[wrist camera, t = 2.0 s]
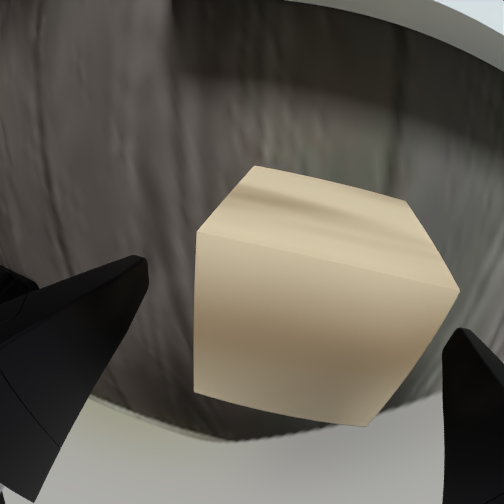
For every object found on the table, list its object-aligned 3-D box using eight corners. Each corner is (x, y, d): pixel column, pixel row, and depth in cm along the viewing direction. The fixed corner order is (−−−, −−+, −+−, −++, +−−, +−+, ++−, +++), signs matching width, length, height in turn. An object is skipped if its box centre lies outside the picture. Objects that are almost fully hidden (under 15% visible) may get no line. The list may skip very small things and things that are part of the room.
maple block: (360, 317, 12) (365, 427, 7) (237, 290, 12) (194, 391, 8) (404, 200, 9) (460, 291, 5) (254, 164, 10) (197, 231, 5)
